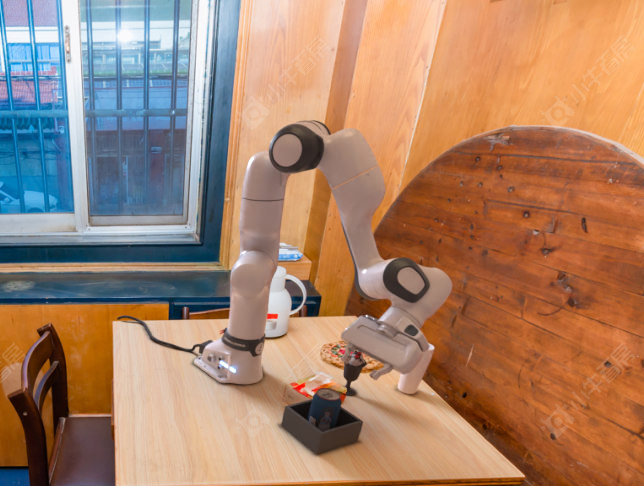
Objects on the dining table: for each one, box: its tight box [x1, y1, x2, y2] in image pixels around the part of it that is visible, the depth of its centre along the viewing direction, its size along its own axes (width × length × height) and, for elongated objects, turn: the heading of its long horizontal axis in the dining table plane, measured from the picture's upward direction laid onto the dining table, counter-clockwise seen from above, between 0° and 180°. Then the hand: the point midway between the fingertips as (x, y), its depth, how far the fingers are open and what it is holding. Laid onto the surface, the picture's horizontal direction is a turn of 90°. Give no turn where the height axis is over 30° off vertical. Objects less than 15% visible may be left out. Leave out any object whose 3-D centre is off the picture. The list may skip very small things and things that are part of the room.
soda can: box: [307, 387, 343, 432], centre depth 130 cm, size 7×7×12 cm
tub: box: [280, 398, 364, 455], centre depth 132 cm, size 14×14×6 cm
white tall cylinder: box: [397, 342, 435, 395], centre depth 150 cm, size 7×7×15 cm
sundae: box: [342, 350, 368, 396], centre depth 148 cm, size 7×7×15 cm
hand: (357, 369), depth 127 cm, fingers open, 8 cm apart
